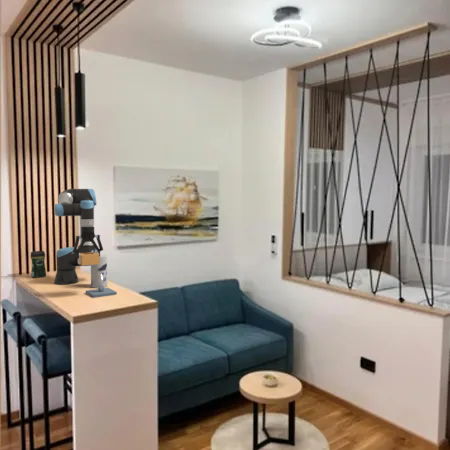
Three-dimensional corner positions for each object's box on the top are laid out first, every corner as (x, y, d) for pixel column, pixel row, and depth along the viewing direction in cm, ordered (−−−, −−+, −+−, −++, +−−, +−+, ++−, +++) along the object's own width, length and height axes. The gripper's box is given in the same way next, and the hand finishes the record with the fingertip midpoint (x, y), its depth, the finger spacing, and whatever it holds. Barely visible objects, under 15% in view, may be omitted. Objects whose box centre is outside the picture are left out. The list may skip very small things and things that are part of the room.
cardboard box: (77, 263, 257) (77, 253, 257) (94, 261, 263) (94, 252, 262) (82, 265, 249) (82, 255, 248) (99, 263, 254) (99, 254, 254)
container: (102, 288, 270) (102, 257, 269) (88, 287, 272) (87, 256, 271) (110, 284, 280) (109, 254, 278) (96, 284, 282) (95, 254, 280)
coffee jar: (43, 275, 311) (42, 249, 310) (47, 276, 305) (46, 251, 304) (29, 276, 305) (28, 251, 303) (33, 278, 299) (32, 252, 297)
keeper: (85, 293, 258) (85, 273, 257) (108, 289, 266) (107, 270, 265) (93, 297, 247) (93, 277, 246) (116, 294, 255) (116, 274, 254)
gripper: (69, 227, 245) (70, 265, 246) (108, 225, 257) (109, 262, 259) (66, 226, 251) (67, 264, 252) (104, 225, 264) (105, 260, 265)
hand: (88, 263), depth 256 cm, fingers closed on cardboard box, 10 cm apart
